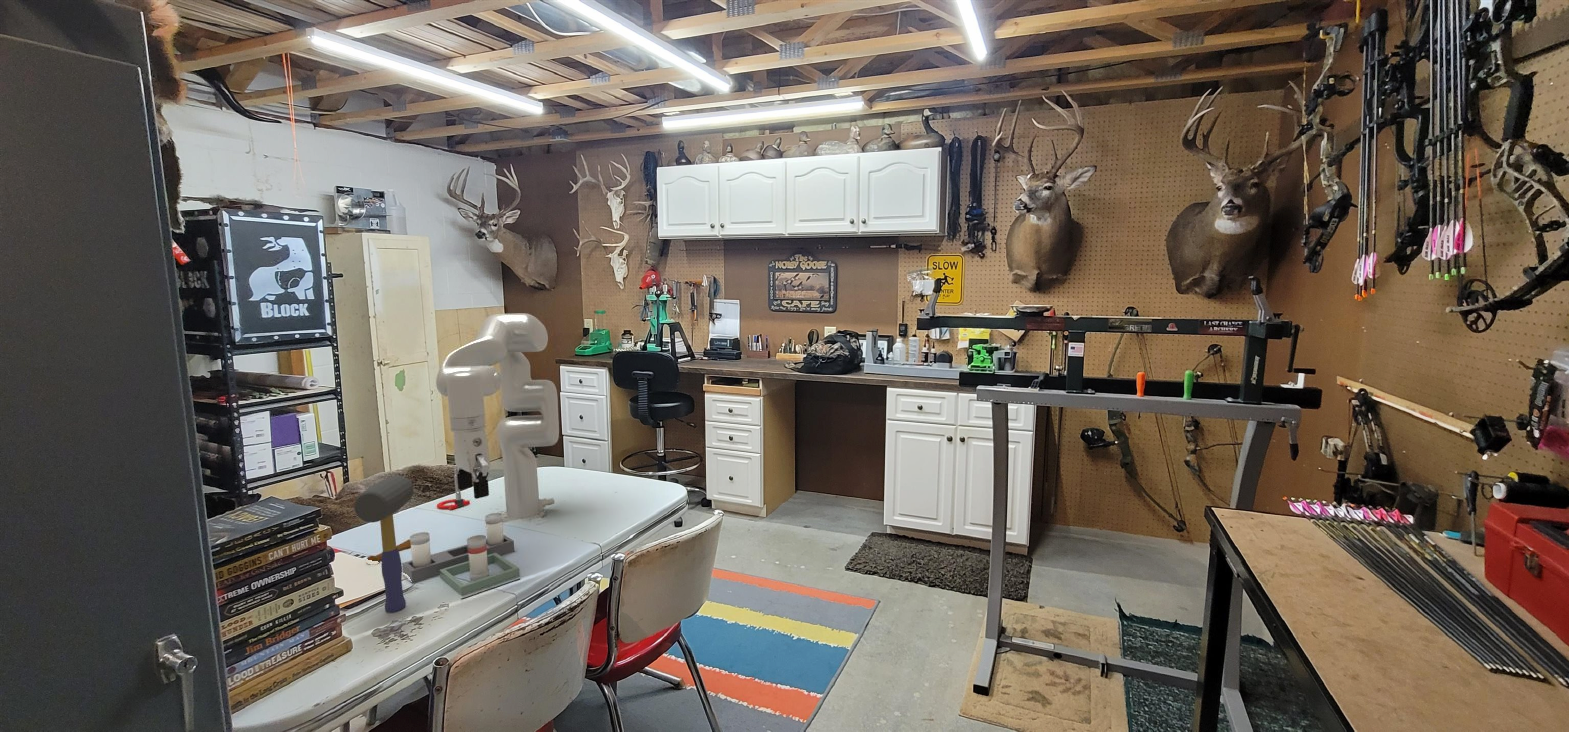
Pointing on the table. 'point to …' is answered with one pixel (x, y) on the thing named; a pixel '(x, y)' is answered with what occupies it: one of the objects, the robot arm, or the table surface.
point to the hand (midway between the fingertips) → (473, 492)
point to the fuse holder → (452, 560)
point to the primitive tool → (400, 547)
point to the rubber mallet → (387, 530)
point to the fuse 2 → (494, 528)
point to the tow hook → (458, 500)
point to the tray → (485, 582)
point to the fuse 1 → (420, 549)
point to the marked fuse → (477, 557)
